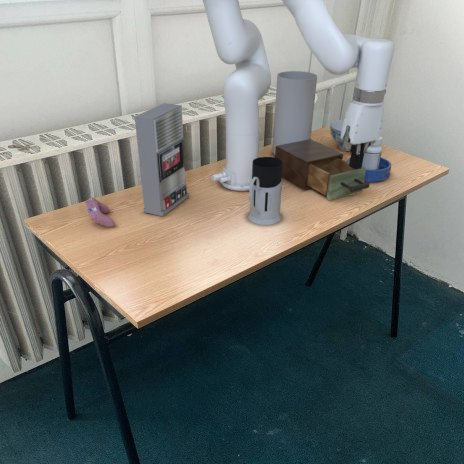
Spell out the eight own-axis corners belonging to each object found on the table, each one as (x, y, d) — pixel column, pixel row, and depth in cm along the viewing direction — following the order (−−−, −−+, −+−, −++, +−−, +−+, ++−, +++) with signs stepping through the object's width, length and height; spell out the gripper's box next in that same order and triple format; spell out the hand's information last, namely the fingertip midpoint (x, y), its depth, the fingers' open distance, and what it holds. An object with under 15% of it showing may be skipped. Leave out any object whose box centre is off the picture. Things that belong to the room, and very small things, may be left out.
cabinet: (339, 181, 148) (343, 153, 143) (304, 190, 143) (307, 161, 138) (307, 165, 159) (310, 138, 154) (273, 173, 153) (275, 145, 148)
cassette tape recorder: (163, 217, 128) (155, 120, 113) (144, 213, 130) (133, 116, 115) (189, 197, 138) (184, 105, 123) (170, 193, 140) (164, 102, 125)
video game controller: (96, 218, 130) (79, 198, 126) (110, 209, 130) (94, 188, 126) (101, 235, 123) (84, 214, 118) (116, 225, 123) (100, 204, 118)
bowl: (366, 186, 146) (368, 173, 143) (336, 171, 155) (338, 159, 152) (397, 177, 151) (400, 165, 149) (367, 164, 160) (369, 152, 158)
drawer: (375, 198, 137) (379, 174, 133) (341, 207, 132) (345, 183, 128) (329, 174, 150) (332, 153, 146) (297, 182, 145) (299, 160, 141)
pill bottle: (363, 168, 156) (370, 132, 149) (380, 173, 153) (388, 136, 146) (353, 173, 153) (359, 137, 146) (370, 178, 149) (377, 141, 142)
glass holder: (286, 214, 130) (290, 159, 121) (265, 237, 120) (268, 179, 111) (256, 207, 133) (258, 153, 124) (233, 229, 123) (234, 172, 114)
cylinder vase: (300, 146, 173) (308, 70, 158) (314, 158, 164) (323, 78, 149) (267, 149, 171) (271, 72, 155) (279, 162, 161) (285, 80, 146)
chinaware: (353, 158, 164) (356, 135, 160) (318, 147, 173) (321, 125, 169) (378, 148, 173) (382, 126, 168) (344, 138, 181) (347, 116, 177)
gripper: (379, 89, 126) (365, 158, 137) (335, 95, 119) (324, 167, 131) (401, 96, 121) (384, 167, 132) (356, 103, 114) (343, 177, 126)
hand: (355, 167), depth 131 cm, fingers closed
